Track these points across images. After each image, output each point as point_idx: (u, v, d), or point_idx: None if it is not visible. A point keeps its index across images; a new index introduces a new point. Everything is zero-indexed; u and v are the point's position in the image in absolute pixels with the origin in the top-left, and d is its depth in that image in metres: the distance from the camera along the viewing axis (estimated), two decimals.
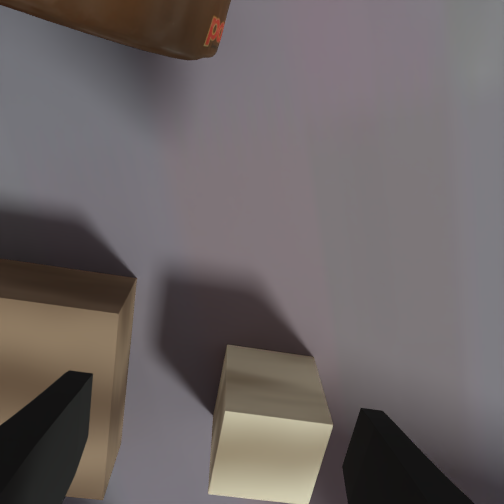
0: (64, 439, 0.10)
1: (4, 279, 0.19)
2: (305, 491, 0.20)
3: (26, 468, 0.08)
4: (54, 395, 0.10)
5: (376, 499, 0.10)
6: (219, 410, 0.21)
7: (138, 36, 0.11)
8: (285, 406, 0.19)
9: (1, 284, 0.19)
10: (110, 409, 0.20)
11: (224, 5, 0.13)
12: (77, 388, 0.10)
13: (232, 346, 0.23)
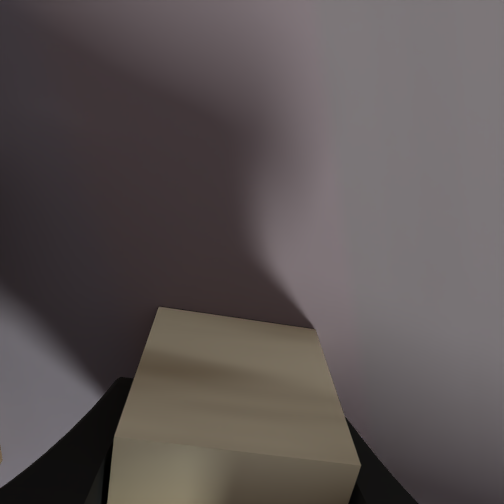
0: None
1: None
2: None
3: (99, 476, 0.08)
4: (113, 402, 0.10)
5: None
6: None
7: None
8: (257, 423, 0.09)
9: None
10: None
11: None
12: None
13: (167, 310, 0.12)
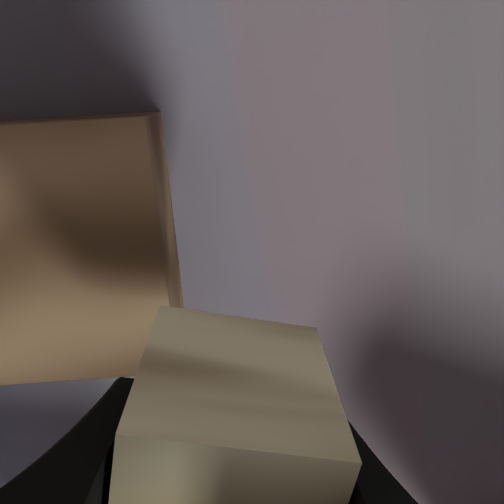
0: None
1: (10, 122, 0.16)
2: None
3: (99, 476, 0.08)
4: (113, 402, 0.10)
5: None
6: None
7: None
8: (258, 421, 0.09)
9: (6, 123, 0.16)
10: (162, 251, 0.17)
11: None
12: None
13: (168, 309, 0.12)
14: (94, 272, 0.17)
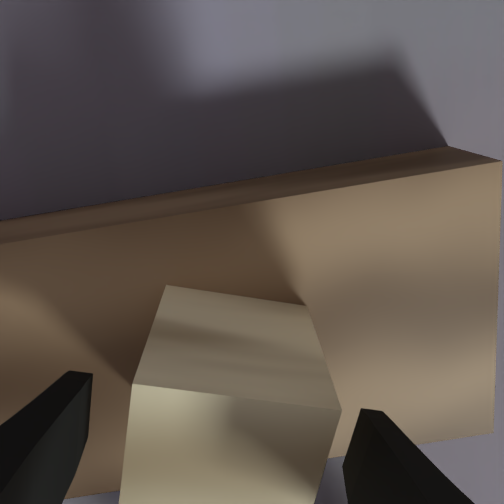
0: (64, 439, 0.10)
1: (319, 179, 0.15)
2: None
3: (26, 468, 0.08)
4: (54, 395, 0.10)
5: (376, 499, 0.10)
6: None
7: None
8: (253, 377, 0.10)
9: (323, 182, 0.14)
10: (496, 305, 0.15)
11: None
12: (77, 388, 0.10)
13: (174, 288, 0.14)
14: (419, 336, 0.15)
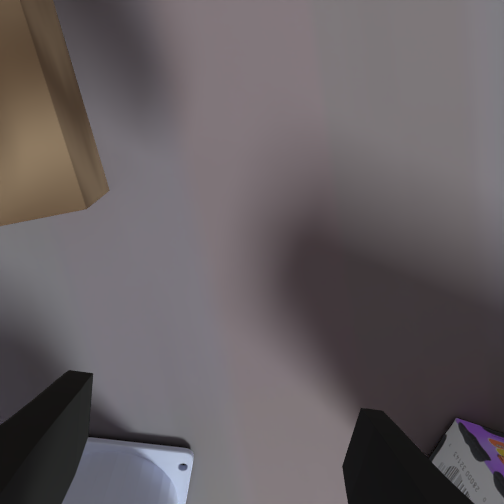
0: (64, 439, 0.10)
1: None
2: None
3: (26, 468, 0.08)
4: (54, 395, 0.10)
5: (376, 499, 0.10)
6: None
7: None
8: None
9: None
10: (39, 61, 0.15)
11: None
12: (77, 388, 0.10)
13: None
14: None
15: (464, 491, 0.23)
